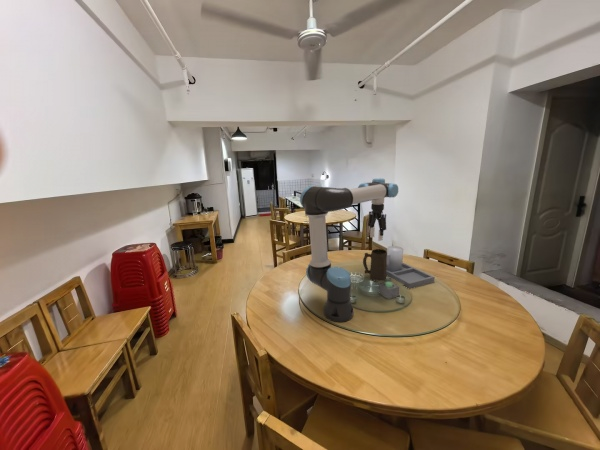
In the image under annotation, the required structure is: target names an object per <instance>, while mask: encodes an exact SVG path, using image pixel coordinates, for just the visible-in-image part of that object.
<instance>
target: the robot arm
mask: <svg viewBox="0 0 600 450" xmlns="http://www.w3.org/2000/svg"><path fill="white" fill-rule="evenodd" d="M398 194H399V186H398V184H396V183H392V182H390V183H389V182H386V179H385V178H381V177H379V178H372V182H363V183H360V184H359V185H358V186H357V187H355V188H350V189H349V187H343V188H337V187H331V186H330V187H329V186H328V187H327V186H316V185H315V186H308V187H306V188H304V189H303V191H302V192H301V194H300V196H299V202H300V205H301V206H302V208H303V209H304V211H305V216H307V218H308V224H309V239H310V250H311V251H310V252H311V260H309V264H307V267H306V270H305V271H306V272H305V273H306V274H305V275H306V277H307V279H308V281H310V282H311V283H312V284H314V285H315V286H318V287H320V288H321V289H323V290H324V291H326V301H325V304H324V307H323V315H324V316H325V318H327V319H328V320H330V321H332V322H336V323H344V322H347V321H350V320H351V319H352V318H354V307H353V305H352V301H351V284H352V279H351V274H350V272H349V271H348V270H347V269H346V268H343V267H341V266H340V267H339V266H332V261H331V260H330V259H329V258H328V257H329V256H328V242H327V241H328V238H327V223H326V216H327V215H328V213H330V212H337V211H340V210H345V209H349V208H351V207H352V206H353V205H356V204H362V203H367V202H370V201H371V206H370V209H371V211H368V221H367V226H368V227H369V232H370V233H369V235H370V236H369V237H370V238H375V233H376V232H375V229H376V228H375V225H376V221H377V222H378V223H377V224H378V228H379V230H378V239H377V241H383V238H384V231H387V214H386V213H384V212H383V211H384V210H385V198H389V199H391V198H395V197H396V196H398Z"/></svg>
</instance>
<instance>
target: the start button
mask: <svg viewBox="0 0 600 450" xmlns="http://www.w3.org/2000/svg"><path fill="white" fill-rule="evenodd" d="M385 282H386V285H385V286H387V287H388V288H389V287H392V286H393V283H394V282H392V281H391V282H387V281H385Z"/></svg>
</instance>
